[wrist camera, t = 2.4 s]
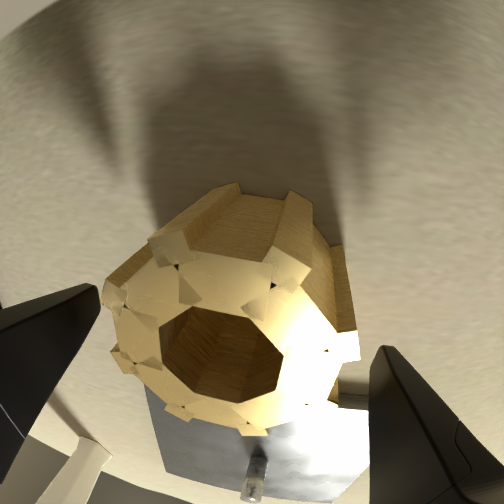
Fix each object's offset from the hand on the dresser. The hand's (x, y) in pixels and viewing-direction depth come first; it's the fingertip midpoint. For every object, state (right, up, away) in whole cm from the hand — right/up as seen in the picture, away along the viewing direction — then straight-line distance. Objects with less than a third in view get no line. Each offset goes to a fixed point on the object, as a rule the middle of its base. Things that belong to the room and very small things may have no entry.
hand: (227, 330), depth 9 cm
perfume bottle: (-15, -18, +15) cm, 28 cm away
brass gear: (+1, +2, +3) cm, 4 cm away
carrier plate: (+1, -11, +9) cm, 14 cm away
